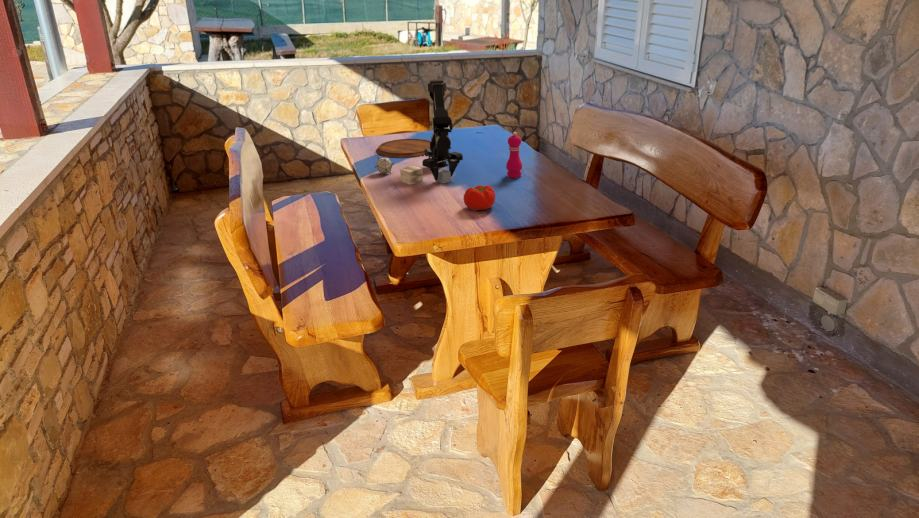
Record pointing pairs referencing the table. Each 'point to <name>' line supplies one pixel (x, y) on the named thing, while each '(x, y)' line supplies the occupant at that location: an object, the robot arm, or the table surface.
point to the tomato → (479, 197)
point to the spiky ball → (384, 165)
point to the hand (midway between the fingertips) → (443, 178)
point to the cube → (444, 176)
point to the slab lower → (412, 180)
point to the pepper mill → (514, 157)
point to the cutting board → (403, 148)
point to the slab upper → (411, 172)
